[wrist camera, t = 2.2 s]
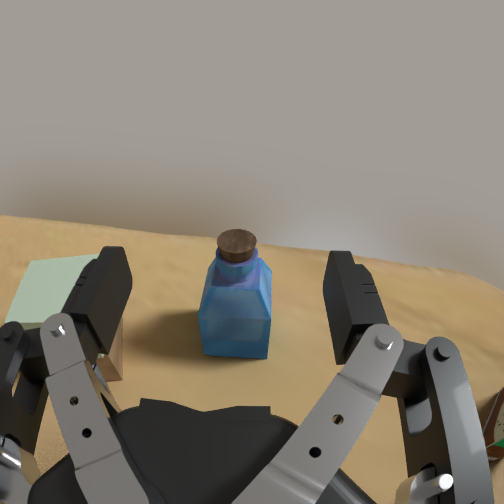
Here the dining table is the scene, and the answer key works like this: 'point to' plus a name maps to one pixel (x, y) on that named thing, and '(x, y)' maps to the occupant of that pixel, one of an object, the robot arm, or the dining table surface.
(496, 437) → the food container
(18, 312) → the tower top block
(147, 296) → the dining table surface
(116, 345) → the tower base block
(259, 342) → the perfume bottle
